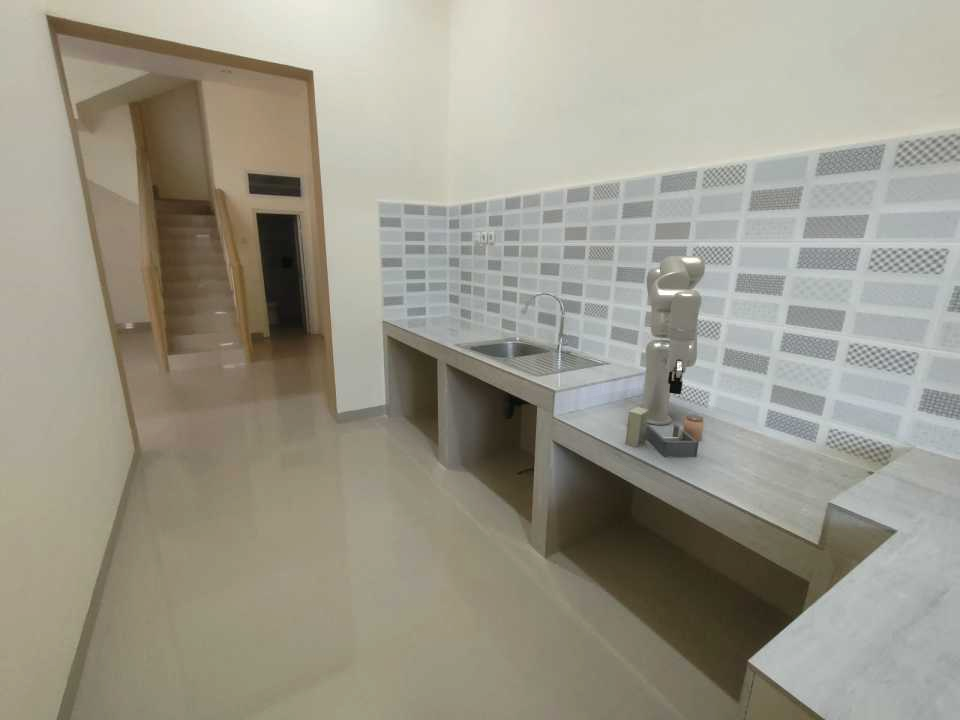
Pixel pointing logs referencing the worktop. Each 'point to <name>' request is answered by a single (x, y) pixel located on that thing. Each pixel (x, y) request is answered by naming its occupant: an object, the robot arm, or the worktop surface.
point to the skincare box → (637, 426)
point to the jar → (694, 426)
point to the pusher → (675, 437)
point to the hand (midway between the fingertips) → (674, 388)
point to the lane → (672, 443)
